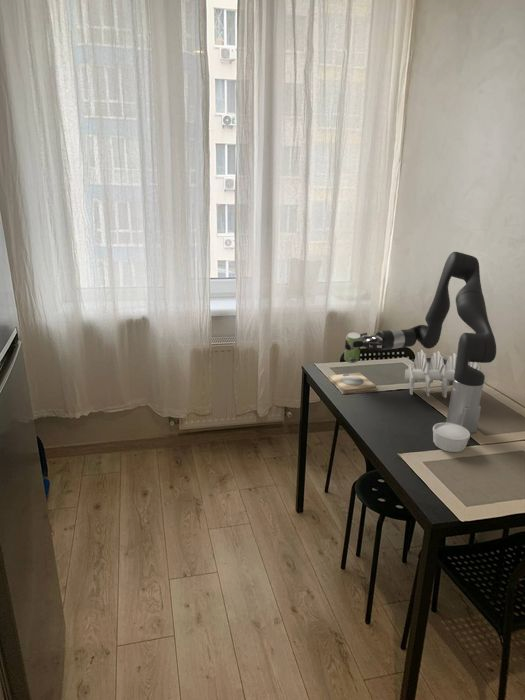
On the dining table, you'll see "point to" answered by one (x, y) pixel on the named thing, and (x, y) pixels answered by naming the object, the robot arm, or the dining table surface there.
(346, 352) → the beverage can
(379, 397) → the dining table surface
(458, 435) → the ramekin
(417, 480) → the dining table surface
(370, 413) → the dining table surface
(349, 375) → the hub seat
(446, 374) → the white adirondack chairs
